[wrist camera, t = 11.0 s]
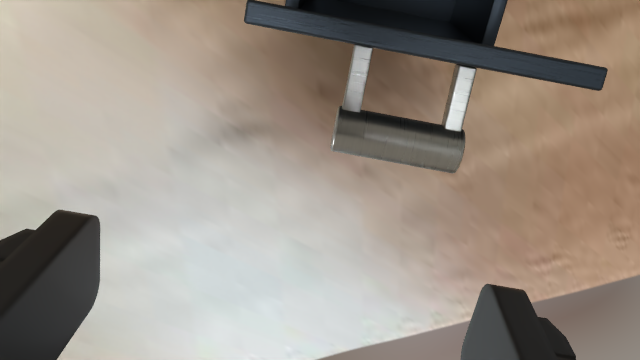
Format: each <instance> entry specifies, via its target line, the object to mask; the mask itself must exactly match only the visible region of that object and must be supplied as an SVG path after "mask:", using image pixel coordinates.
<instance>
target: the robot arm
mask: <svg viewBox="0 0 640 360" xmlns="http://www.w3.org/2000/svg"><path fill="white" fill-rule="evenodd" d="M99 282H100V222H99V219H98V217H97V216H94V215H88V214H83V213H77V212H71V211H65V210H57V211H56V212H54V213H53V214H52V215H51V216H50V217H49V218H48V219H47V220H46V221H45V222H44V223H43V224H42V225H41V226H39V227H38V228H37V229H36V230H31V229H25V230H22V231H20V232H18V233H16V234H13V235H11V236H9V237H7V238H5V239H2V240H1V241H0V360H57V358H58V357H59V355H60V354H61V352H62V351H63V349H64V348H65V346H66V345H67V344H68V342H69V341H70V339H71V338H72V336H73V335H74V333H75V332H76V331H77V329H78V328H79V326H80V325H81V323H82V322H83V320H84V319H85V317H86V316H87V315H88V313H89V312H90V310H91V308H92V306H93V304H94V302H95V299H96V296H97V293H98V289H99ZM461 360H576V356H575V354H574V352H573V350H572V348H571V346H570V344H569V342H568V340H567V339H566V337H565V336H564V335H563V334H562V333H561V332H560V331H559V330H558V329H557V328H556V327H555V326H554V325H553V324H552V323H551V322H550V321H549V320H548V319H547V318H541V317H537V315H536V313H535V311H534V309H533V306H532V304H531V302H530V300H529V298H528V296H527V294H526V292H525V291H524V290H521V289H515V288H509V287H503V286H497V285H492V284H486V285H485V286H484V287H483V288H482V290H481V292H480V295H479V298H478V301H477V304H476V307H475V310H474V313H473V316H472V319H471V321H470V324H469V327H468V330H467V333H466V336H465V339H464V342H463V346H462V352H461Z"/></svg>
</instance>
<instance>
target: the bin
mask: <svg viewBox="0 0 640 360" xmlns="http://www.w3.org/2000/svg"><path fill="white" fill-rule="evenodd" d="M506 4H507V0H286V3H285V6H287V7H292V8H297V9H303V10H308V11H313V12H318V13H323V14H329V15H334V16H339V17H344V18H349V19H355V20H360V21H365V22H370V23H376V24H381V25H386V26H391V27H396V28H402V29H407V30H412V31H417V32H422V33H428V34H433V35H438V36H443V37H448V38H454V39H459V40H464V41H469V42H474V43H480V44H485V45H490V46H494V44H495V41H496V37H497V34H498V31H499V27H500V24H501V21H502V17H503V14H504V11H505V7H506Z"/></svg>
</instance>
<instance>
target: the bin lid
mask: <svg viewBox="0 0 640 360" xmlns="http://www.w3.org/2000/svg"><path fill="white" fill-rule="evenodd" d="M244 22H245V23H247V24H252V25H257V26H262V27H267V28H272V29H277V30H282V31H287V32H292V33H298V34H303V35H308V36H313V37H319V38H324V39H329V40H334V41H340V42H345V43H350V44H355V45H354V48H353V53H352V58H351V63H350V69H349V74H348V79H347V84H346V89H345V94H344V99H343V105H342V106H339V107H338V110H337V114H336V119H335V124H334V129H333V135H332V141H331V151H335V152H340V153H346V154H351V155H356V156H362V157H367V158H372V159H378V160H383V161H388V162H394V163H399V164H405V165H410V166H415V167H421V168H426V169H431V170H437V171H442V172H448V173H455V172H456V171H457V169H458V168H459V166H460V163H461V161H462V157H463V153H464V148H465V132H464V130H463V129H462V126H463V122H464V118H465V114H466V110H467V106H468V102H469V98H470V94H471V90H472V86H473V82H474V78H475V74H476V68H481V69H486V70H491V71H497V72H502V73H507V74H513V75H518V76H523V77H528V78H534V79H539V80H544V81H550V82H555V83H560V84H566V85H571V86H576V87H581V88H587V89H592V90H597V91H600V90H601V89H602V87H603V84H604V81H605V78H606V74H607V68H605V67H599V66H594V65H589V64H584V63H579V62H573V61H568V60H563V59H558V58H553V57H547V56H542V55H537V54H532V53H526V52H521V51H516V50H511V49H506V48H500V47H495V46H490V45H485V44H480V43H474V42H469V41H464V40H459V39H454V38H448V37H443V36H438V35H433V34H428V33H422V32H417V31H412V30H407V29H402V28H396V27H391V26H386V25H381V24H376V23H370V22H365V21H360V20H355V19H349V18H344V17H339V16H334V15H329V14H323V13H318V12H313V11H308V10H303V9H297V8H292V7H287V6H282V5H277V4H271V3H266V2H261V1H256V0H248V1H247V3H246V10H245V17H244ZM373 48H376V49H381V50H387V51H392V52H397V53H402V54H408V55H413V56H418V57H423V58H429V59H434V60H439V61H444V62H449V63H455V64H456V66H455V70H454V74H453V78H452V82H451V86H450V90H449V95H448V99H447V103H446V107H445V111H444V116H443V120H442V124H441V125H439V124H434V123H429V122H423V121H418V120H413V119H408V118H402V117H397V116H392V115H386V114H381V113H376V112H370V111H365V110H361V105H362V100H363V95H364V90H365V86H366V81H367V76H368V71H369V66H370V61H371V56H372V51H373ZM475 67H476V68H475Z"/></svg>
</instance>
